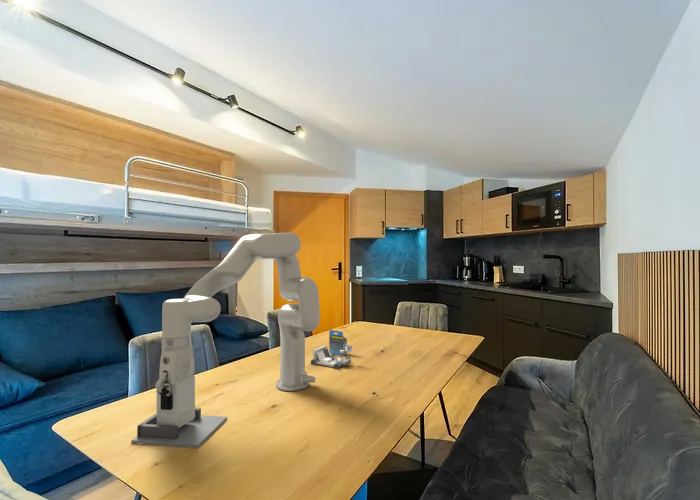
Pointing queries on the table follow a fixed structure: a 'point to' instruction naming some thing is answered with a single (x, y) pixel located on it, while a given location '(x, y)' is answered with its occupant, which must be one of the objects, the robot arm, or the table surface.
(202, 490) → the table surface
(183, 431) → the box holder
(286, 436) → the table surface
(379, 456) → the table surface
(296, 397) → the table surface
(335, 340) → the label tape cartridge
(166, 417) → the supplement box
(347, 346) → the toy car
